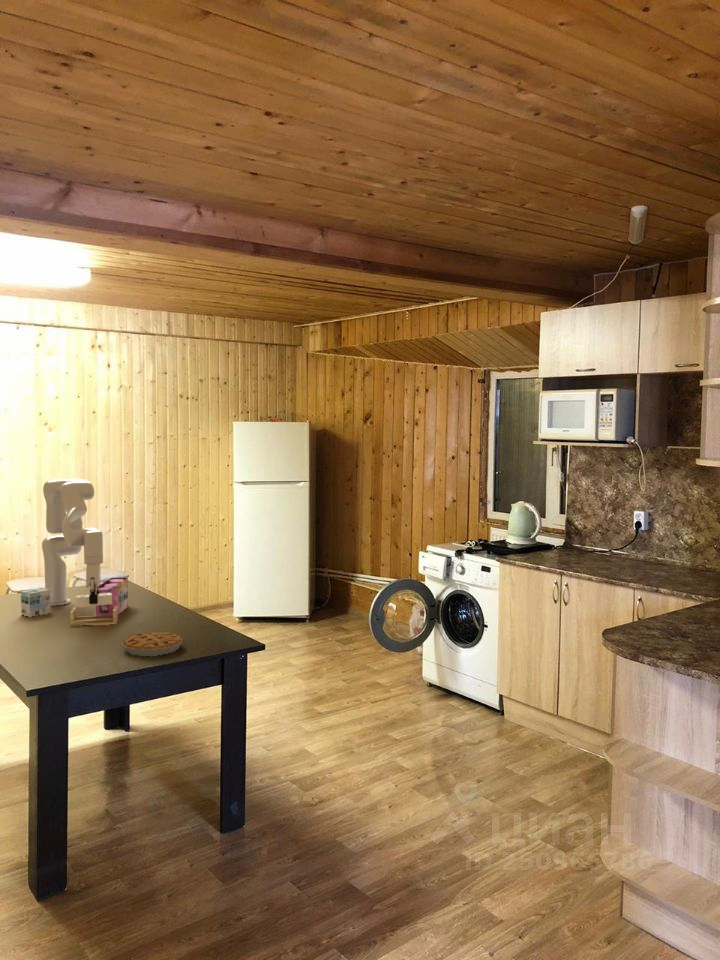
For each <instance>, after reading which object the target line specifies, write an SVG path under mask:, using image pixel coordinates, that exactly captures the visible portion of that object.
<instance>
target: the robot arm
mask: <svg viewBox="0 0 720 960" xmlns="http://www.w3.org/2000/svg"><path fill="white" fill-rule="evenodd" d="M42 493H43V497H44V499H45V504H46V508H45V509H46V510H45V512H46V513H45V528H46V531H47V532H48V534H49V533H50V534H52V536H47V537H45V538H44V539H43V540H42V543H41V550H42V554H43V555H42V556H43V561H44V563H43V564H44V588H45V589H49V590H50V607H56V606H57V605H58V606H64V604H65V605H68V604H70V603H71V599H70V598H68V588H67V587H68V586H67V582H68V581H67V577H68V576H67V565H66V562H65V560H63V559H62V558H61V557H65V556H72V555H74V556H75V555H77V554H80V553H81V550H82V548H83V556H84V557H83V561H84V562H83V564H84V565H86V567H85V570H86V573H85V587H86V588H87V589H88V588H89V594H88V595H89V603H90V604H97V603H98V595H97V594H99V585H101V564H103V563H104V542H103V540H104V539H103V534H104V533H103V532H102V531H101V530H99V529H97V528H95V527H88V528H87V527H86V528H83V519H82V517H83V516H84V515H86V514H87V512H88V507H87V505H86V502H85V501H87V500H88V501H89V500H92V499H93V498H94V497H95V496H94V495H95V489H94V486H93V484H92V483H91V482H90V481H88V480H86V479H81V478H71V479H69V478H67V479H65V478H63V479H52V480H51V479H50V480H47V481H46V482H44V484H43V488H42ZM55 534H58V535H55ZM59 534H61V535H59ZM62 534H63V535H62ZM58 606H57V607H58Z"/></svg>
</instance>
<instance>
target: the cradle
mask: <svg viewBox="0 0 720 960" xmlns="http://www.w3.org/2000/svg"><path fill="white" fill-rule="evenodd" d="M69 616H70V619H69V620H70V621H69V622H70V625H69V626H70V627H83V626H82V625H93V626H111V625H110V624H116V625H117V623H118V621H119V614H118V606H115V607H114V609H113V615H105V616H96V615H84V616H83V615H82V616H77V606H75V607H74V606H73V607H72V609H71V610H70V615H69ZM79 625H80V626H79Z"/></svg>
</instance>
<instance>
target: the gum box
mask: <svg viewBox="0 0 720 960" xmlns="http://www.w3.org/2000/svg"><path fill="white" fill-rule="evenodd" d="M102 593H111V594H112V604H108V605H97V606H95V616H105V615H113V609H114V607H115V606H118V615H119V614H121V613H122V612H123V611H124V610H126V609H127V608H128V607H129V578H128V577H111V578H109V579H107V580H106V581H104V582H103V583H100V584H99V594H102Z"/></svg>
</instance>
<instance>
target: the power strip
mask: <svg viewBox="0 0 720 960" xmlns="http://www.w3.org/2000/svg"><path fill="white" fill-rule="evenodd" d="M97 595H98V603H97V604H90V603H89V594H79V595H75V603H76V604H75V605H76V608H83V607H94V606H95V607H96V606H97V605H108V604H112V594H111V593H102V594H97Z"/></svg>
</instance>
